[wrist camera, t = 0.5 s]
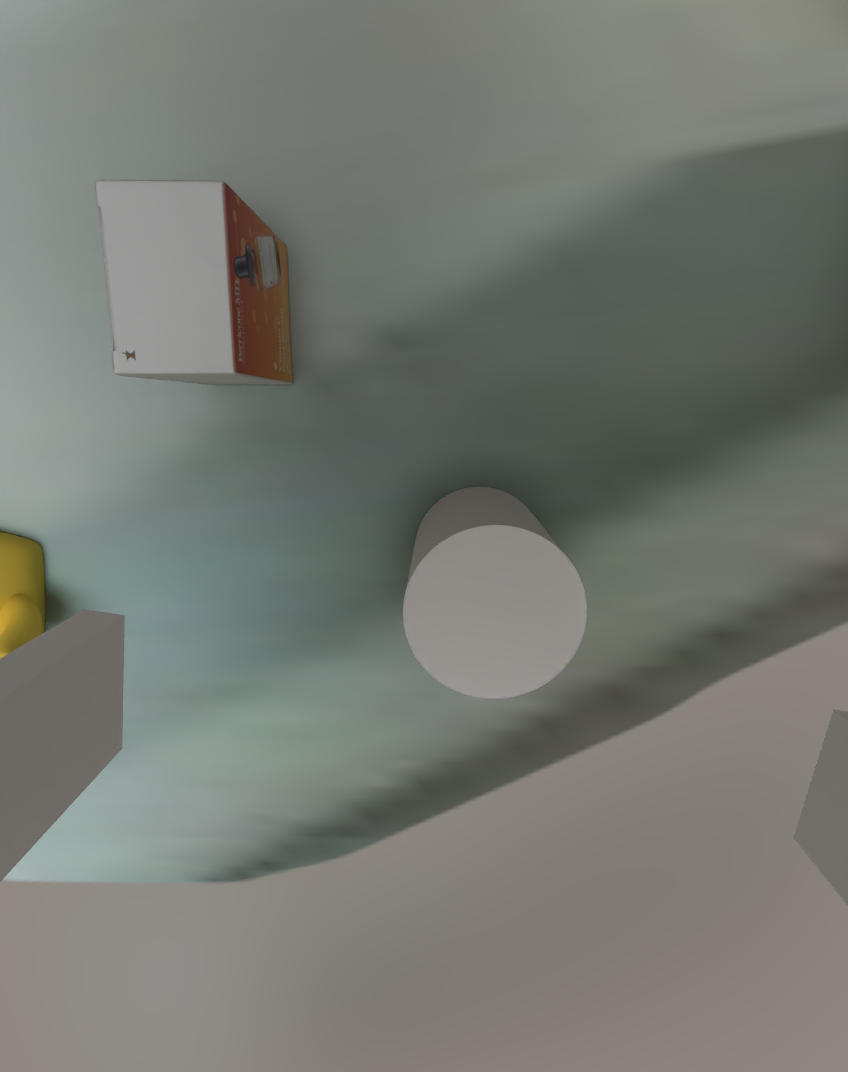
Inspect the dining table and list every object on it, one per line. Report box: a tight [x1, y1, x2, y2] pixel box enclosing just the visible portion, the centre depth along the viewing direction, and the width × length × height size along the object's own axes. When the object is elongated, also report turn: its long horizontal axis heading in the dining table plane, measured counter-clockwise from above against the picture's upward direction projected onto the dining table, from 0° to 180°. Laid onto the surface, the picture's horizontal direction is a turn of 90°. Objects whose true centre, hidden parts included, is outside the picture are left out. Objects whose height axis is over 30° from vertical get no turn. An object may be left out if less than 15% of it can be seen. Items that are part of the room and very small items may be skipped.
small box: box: [95, 180, 293, 385], centre depth 31 cm, size 8×6×10 cm
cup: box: [403, 486, 587, 699], centre depth 33 cm, size 8×8×12 cm
